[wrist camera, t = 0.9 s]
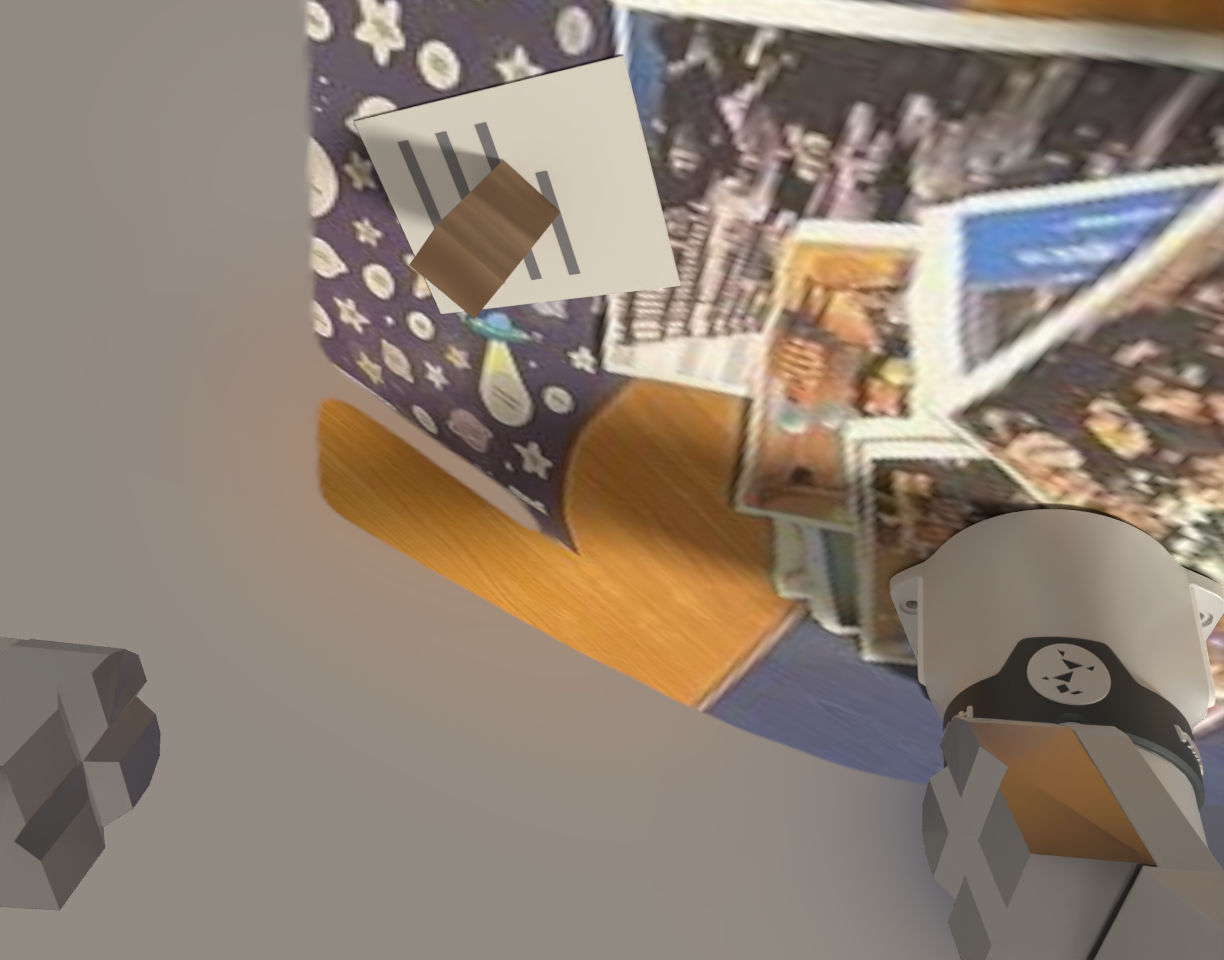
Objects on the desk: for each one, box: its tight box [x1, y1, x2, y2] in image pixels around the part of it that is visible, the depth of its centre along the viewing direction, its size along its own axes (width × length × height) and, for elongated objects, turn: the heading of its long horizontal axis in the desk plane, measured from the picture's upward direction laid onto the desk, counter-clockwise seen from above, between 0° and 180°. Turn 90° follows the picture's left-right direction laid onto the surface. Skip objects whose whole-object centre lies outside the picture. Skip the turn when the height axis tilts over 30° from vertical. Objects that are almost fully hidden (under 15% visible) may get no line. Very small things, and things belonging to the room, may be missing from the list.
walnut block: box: [410, 160, 560, 318], centre depth 42 cm, size 3×4×8 cm
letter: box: [354, 55, 680, 314], centre depth 45 cm, size 12×16×1 cm
